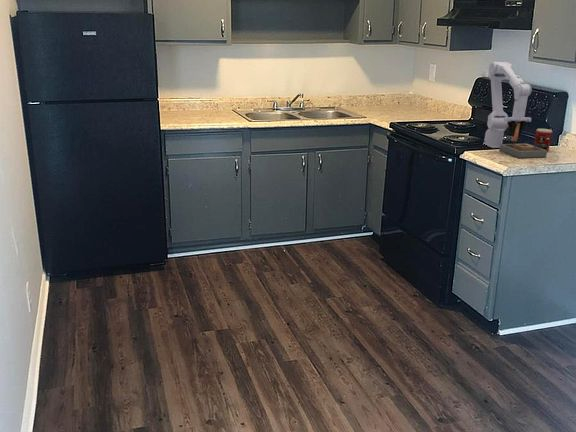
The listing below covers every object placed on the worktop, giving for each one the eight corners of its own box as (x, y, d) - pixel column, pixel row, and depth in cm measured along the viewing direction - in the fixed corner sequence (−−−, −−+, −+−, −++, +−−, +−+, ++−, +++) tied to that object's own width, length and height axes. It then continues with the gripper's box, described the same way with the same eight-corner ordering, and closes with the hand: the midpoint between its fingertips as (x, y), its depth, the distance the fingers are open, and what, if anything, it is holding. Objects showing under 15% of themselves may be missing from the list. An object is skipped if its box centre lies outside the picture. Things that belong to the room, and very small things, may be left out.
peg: (509, 140, 297) (512, 122, 294) (514, 140, 298) (517, 122, 295) (513, 141, 294) (516, 123, 291) (518, 141, 295) (521, 123, 292)
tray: (499, 150, 304) (500, 142, 303) (525, 150, 309) (526, 141, 307) (518, 158, 290) (520, 149, 288) (546, 157, 294) (547, 148, 293)
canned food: (531, 150, 308) (535, 130, 304) (534, 148, 314) (538, 127, 310) (546, 153, 304) (550, 132, 300) (549, 150, 310) (553, 129, 306)
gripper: (511, 110, 285) (507, 137, 290) (537, 110, 289) (532, 137, 293) (503, 107, 291) (498, 134, 296) (528, 107, 295) (523, 134, 300)
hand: (514, 135), depth 295 cm, fingers closed on peg, 3 cm apart
